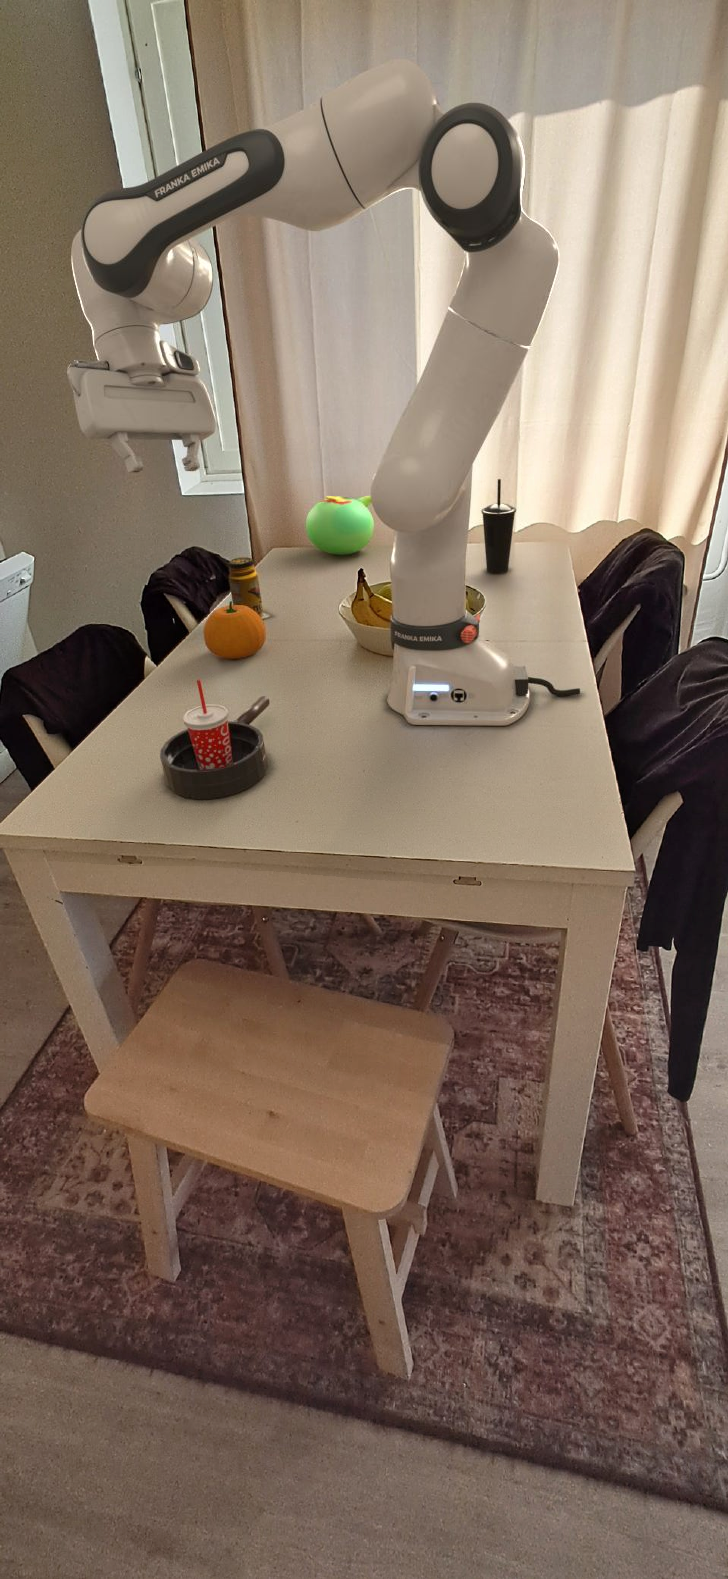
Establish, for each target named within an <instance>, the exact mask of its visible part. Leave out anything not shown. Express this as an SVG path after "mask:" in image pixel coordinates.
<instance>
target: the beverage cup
mask: <svg viewBox="0 0 728 1579" xmlns="http://www.w3.org/2000/svg"><path fill="white" fill-rule="evenodd" d="M196 684H197V688H198V694H199V698H200V703H201V705H199V706H195V707H193V708H191V709H189V710H188V711H186V712H185V713H184V714H183V717H182V721H183V724H184V726H185V728H187V729H188V732H189V735H190V738H191V742H192V745H193V748H194V752H195V755H196V759H197V762H198V765H199V769H200V770H206V769H213V768H219V767H223V766H226V765H230V764H233V759H232V751H231V743H230V735H229V727H228V722H229V717H230V715H229V709H228V708H227V707H226V706H224V705H221V704H216V703H215V704H214V703H212V704H211V703H210V704H206V700H205V697H204V692H203V686H202V682H201V679H196Z"/></svg>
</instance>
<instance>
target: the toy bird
mask: <svg viewBox="0 0 728 1579" xmlns="http://www.w3.org/2000/svg"><path fill="white" fill-rule="evenodd" d="M370 505H372V501H371V494H369V495H365V496H362V497H358V498H355V499H353V498H351V497H347V496H345V497H344V496H340V495H336V496H334V495H333V496H331V495H325V498H324V499H323V500H321V501H319V502H317V503H315V505H313V506H312V508H311V509H310V510H309V512H308V514H307V517H306V520H305V532H306V534H307V537H308V539H309V541H310V543H312V544H313V546H314V547H316V548H317V549H318V550H320V551H322V552H324V553H327V554H330V555H337V556H344V555H351V554H354V553H356V552H358V551H360V550H362V549H364V547H366V546H367V545H368V543H369V542H370V540H371V539H372V536H373V533H374V530H375V529H374V528H375V523H374V522H375V521H374V519H373V516H372V513H371V511H370V510H369V508H368V507H369V506H370Z"/></svg>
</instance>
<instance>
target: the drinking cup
mask: <svg viewBox="0 0 728 1579" xmlns="http://www.w3.org/2000/svg"><path fill="white" fill-rule="evenodd" d="M501 490H502V478H498V479H497V496H496V498H497V499H496V500H497V502H496V503H492V504H489V505H488V506H485V507H484V508H482V509H481V510H480V512H481V514H482V524H483V537H484V549H485V550H484V551H485V562H486V565H485V566H486V572H487V573H489V574H494V575H495V574H497V575H498V574H505V573H507V572H508V571H509V564H510V557H511V549H512V548H511V547H512V538H513V533H514V532H513V530H514V523H515V522H514V521H515V514H516V512H517V508H516V507H515V506H512V505H510V504H508V503H502V502H501V499H502V498H501V496H502V495H501V494H502V493H501V492H502V491H501Z"/></svg>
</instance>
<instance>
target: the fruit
mask: <svg viewBox="0 0 728 1579" xmlns="http://www.w3.org/2000/svg"><path fill="white" fill-rule="evenodd" d="M202 631H203V632H202V633H203V640H204V644H205V647H206V648H207V649H208V650H209V651H210V653H211V654H213V655H214V656H217V657H219V658H222V659H230V660H237V659H243V658H246V657H249V656H252V655H254V654H255V653H257V652H258V651H259V650H261V649H262V647H263V646H264V644H265V642H266V639H267V629H266V625H265V624H264V621H263V619H261V617H260V616H259V615H258V614H257V613H256V612H255V611H254V610H252V609H250V608H249V607H247V606H244V605H233V601H232V600H230V601H229V605H225V606H222V607H219V608H216V609H214V610H213V611H212V612H211V614H210V615H209V617H208V618H207V619H206V621H205V623H204V626H203V629H202Z"/></svg>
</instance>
